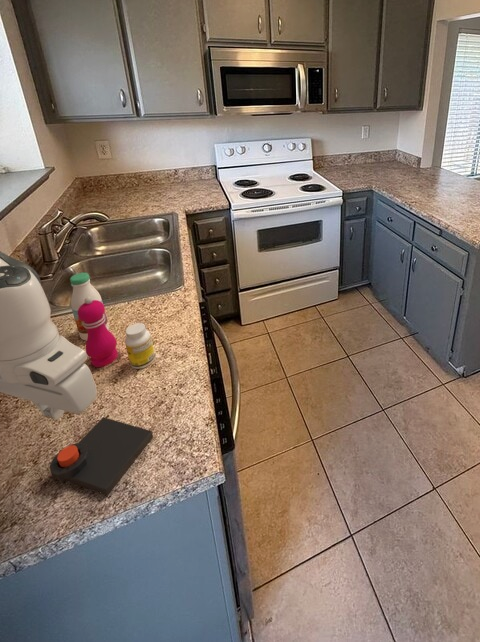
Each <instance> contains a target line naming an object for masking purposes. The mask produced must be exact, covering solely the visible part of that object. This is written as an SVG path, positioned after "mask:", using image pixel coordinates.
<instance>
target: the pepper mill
mask: <svg viewBox="0 0 480 642" xmlns="http://www.w3.org/2000/svg"><path fill="white" fill-rule="evenodd" d="M84 302H85V303H83V304H82V305H81V306H80V308H79V309H78V317H79V319H80V320H82V321H83V324H84V327H85V328H87V332H88V338H87V341H86V343H85V352H86V354H87V357H89V358H90V362H91V365H92V366H93V367H96V368H103V367H106V366H108V365H111V364H112V363H113V362H114V361H115V360H116V359H117V358H118V355H119V354H118V353H119V352H118V350H117V345H118V343H117V339H116V337H115V335H114V333H112V332H111V331H110V330H108V329H107V328H106V326H105V323H104V322H105V315H104V312H105V313H106V306H105V305H104V302H103V301H102V302H103V303H102V302H100V301H98V300H93V299H92V298H91V297H87V298H86V299H85V300H84Z"/></svg>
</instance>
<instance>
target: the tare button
mask: <svg viewBox="0 0 480 642" xmlns="http://www.w3.org/2000/svg"><path fill="white" fill-rule="evenodd" d="M70 445H71V444H70ZM62 449H63V450H62ZM62 449H61V450H62V451H61V450H60V451H61V452H60V451H59V452H60V453H59V452H58V453H59V454H58V453H57V454H58V457H57V459H58V462H59V464H60V466H61V467H68V466H70V465H72V464H74V463H75V462H76V461H77V459H78V458H79V452H78V449H77V447H76V446H75V445H71V446H69V445H67V446H66V447H64V448H62Z"/></svg>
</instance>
